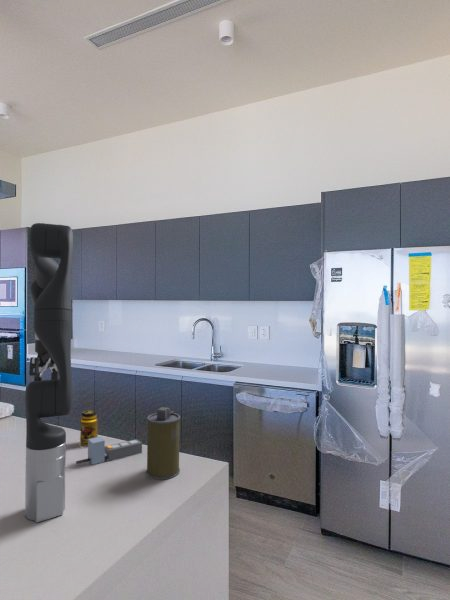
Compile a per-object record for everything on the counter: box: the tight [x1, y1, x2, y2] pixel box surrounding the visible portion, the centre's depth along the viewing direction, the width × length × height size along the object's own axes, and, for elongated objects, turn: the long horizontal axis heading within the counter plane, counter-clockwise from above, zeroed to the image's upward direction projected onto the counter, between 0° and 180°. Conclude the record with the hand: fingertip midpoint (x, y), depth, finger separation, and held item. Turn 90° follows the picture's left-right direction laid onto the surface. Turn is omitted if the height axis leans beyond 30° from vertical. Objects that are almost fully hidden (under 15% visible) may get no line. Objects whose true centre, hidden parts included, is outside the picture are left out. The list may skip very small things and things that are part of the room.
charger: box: [75, 436, 107, 465], centre depth 126 cm, size 4×10×7 cm, turn 128°
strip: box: [104, 439, 143, 462], centre depth 133 cm, size 4×12×4 cm, turn 128°
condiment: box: [76, 409, 99, 449], centre depth 144 cm, size 7×8×12 cm
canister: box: [145, 406, 181, 480], centre depth 120 cm, size 11×10×20 cm
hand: (46, 385), depth 130 cm, fingers open, 8 cm apart
